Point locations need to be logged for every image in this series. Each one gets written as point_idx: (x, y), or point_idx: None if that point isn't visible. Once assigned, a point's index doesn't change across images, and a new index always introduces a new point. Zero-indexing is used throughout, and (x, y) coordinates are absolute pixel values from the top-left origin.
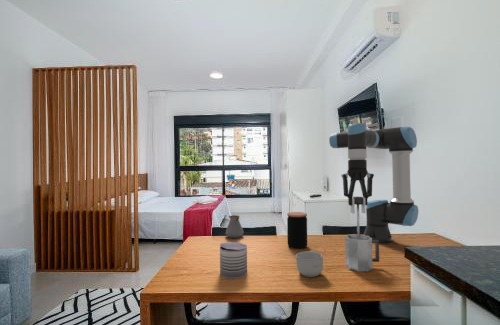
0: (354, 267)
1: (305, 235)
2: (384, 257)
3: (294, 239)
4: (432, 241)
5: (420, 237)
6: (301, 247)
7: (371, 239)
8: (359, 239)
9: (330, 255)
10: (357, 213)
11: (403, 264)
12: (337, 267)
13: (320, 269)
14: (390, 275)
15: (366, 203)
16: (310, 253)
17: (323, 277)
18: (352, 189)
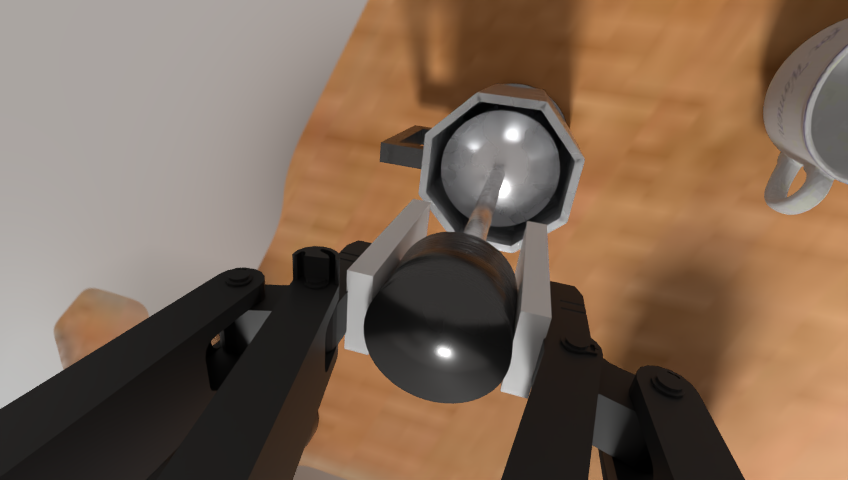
0: (555, 105)
1: None
2: (340, 228)
3: None
4: (110, 332)
5: None
6: None
7: (432, 128)
8: (493, 168)
9: None
10: (483, 233)
11: (307, 140)
12: (613, 157)
13: (831, 26)
14: (424, 22)
15: (354, 252)
16: (836, 171)
17: (780, 34)
18: (552, 456)
